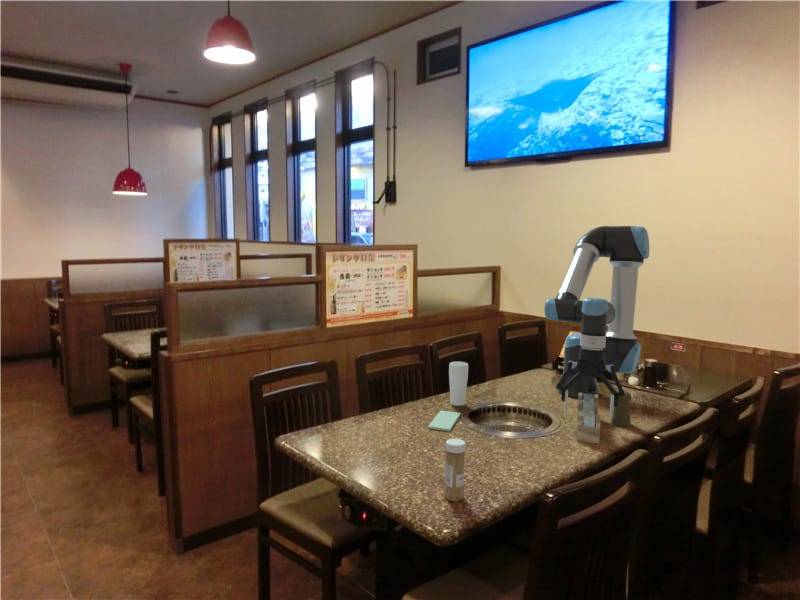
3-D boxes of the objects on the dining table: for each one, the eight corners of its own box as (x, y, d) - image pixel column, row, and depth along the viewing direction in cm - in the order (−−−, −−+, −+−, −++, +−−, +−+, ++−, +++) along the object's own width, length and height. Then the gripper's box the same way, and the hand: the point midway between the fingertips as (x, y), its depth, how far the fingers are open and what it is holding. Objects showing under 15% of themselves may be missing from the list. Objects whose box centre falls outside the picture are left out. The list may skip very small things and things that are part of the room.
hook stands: (577, 415, 181) (578, 392, 180) (596, 417, 179) (598, 394, 178) (576, 441, 159) (578, 415, 158) (599, 443, 157) (600, 417, 156)
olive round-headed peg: (632, 428, 170) (635, 394, 169) (612, 426, 171) (615, 393, 170) (628, 421, 176) (630, 389, 175) (609, 420, 177) (611, 388, 176)
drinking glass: (462, 400, 195) (463, 360, 194) (470, 406, 189) (471, 365, 187) (445, 402, 193) (446, 362, 191) (452, 408, 187) (454, 366, 185)
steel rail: (583, 401, 180) (583, 393, 180) (592, 402, 179) (593, 394, 179) (583, 425, 157) (584, 415, 157) (594, 426, 156) (594, 417, 156)
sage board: (440, 412, 182) (440, 410, 182) (460, 415, 180) (460, 412, 180) (427, 428, 167) (428, 426, 167) (449, 431, 165) (449, 429, 165)
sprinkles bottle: (465, 501, 122) (467, 445, 120) (445, 502, 121) (447, 445, 120) (462, 492, 126) (463, 437, 124) (442, 492, 126) (444, 437, 124)
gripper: (550, 346, 166) (546, 412, 168) (637, 353, 158) (632, 422, 161) (551, 342, 173) (547, 405, 175) (634, 349, 165) (629, 415, 168)
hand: (588, 414), depth 168 cm, fingers open, 13 cm apart
